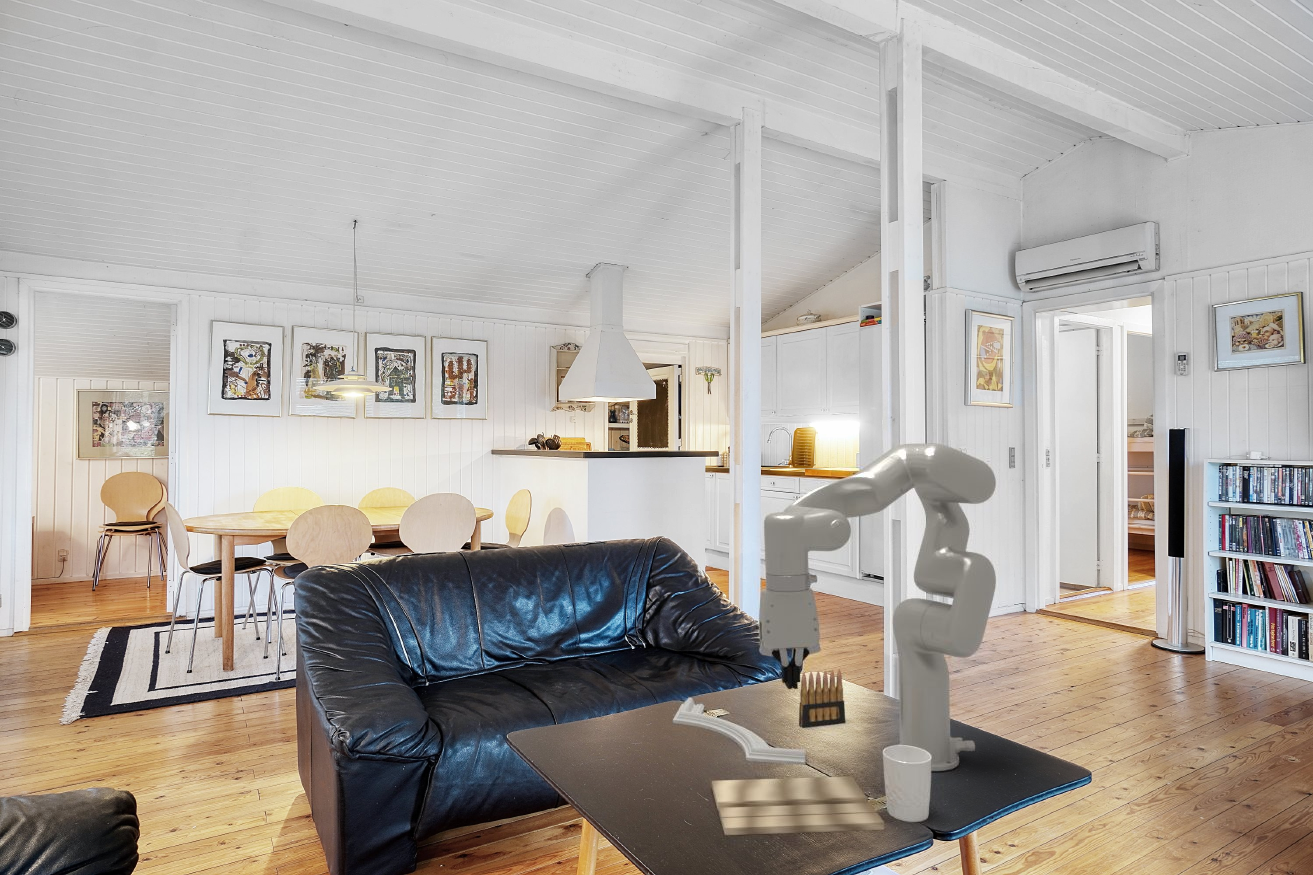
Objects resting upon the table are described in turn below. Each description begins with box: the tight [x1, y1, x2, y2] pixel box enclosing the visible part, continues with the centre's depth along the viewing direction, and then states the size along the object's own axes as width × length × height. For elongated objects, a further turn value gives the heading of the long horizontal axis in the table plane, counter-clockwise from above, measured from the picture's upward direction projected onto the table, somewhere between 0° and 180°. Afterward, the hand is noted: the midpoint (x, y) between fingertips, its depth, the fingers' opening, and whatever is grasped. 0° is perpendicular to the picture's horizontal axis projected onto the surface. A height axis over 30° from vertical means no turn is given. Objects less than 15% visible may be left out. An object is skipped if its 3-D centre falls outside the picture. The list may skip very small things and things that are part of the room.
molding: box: [672, 697, 807, 766], centre depth 167 cm, size 42×12×3 cm, turn 33°
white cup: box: [882, 744, 932, 823], centre depth 131 cm, size 8×8×10 cm
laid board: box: [718, 802, 885, 836], centre depth 127 cm, size 26×7×1 cm, turn 93°
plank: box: [711, 776, 869, 812], centre depth 136 cm, size 26×9×1 cm, turn 93°
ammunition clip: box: [798, 668, 846, 729], centre depth 173 cm, size 11×2×12 cm, turn 106°
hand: (791, 686), depth 136 cm, fingers closed
